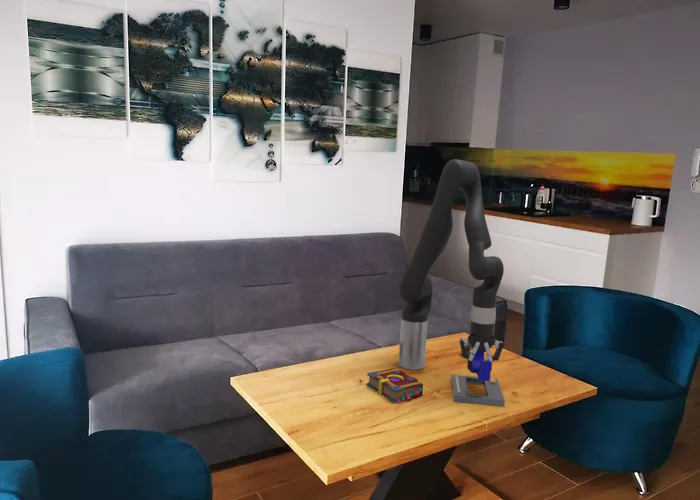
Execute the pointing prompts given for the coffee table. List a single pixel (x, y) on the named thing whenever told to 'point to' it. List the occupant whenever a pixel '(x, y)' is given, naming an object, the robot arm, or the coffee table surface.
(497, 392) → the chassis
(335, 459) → the coffee table surface
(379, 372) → the decorative book
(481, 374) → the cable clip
